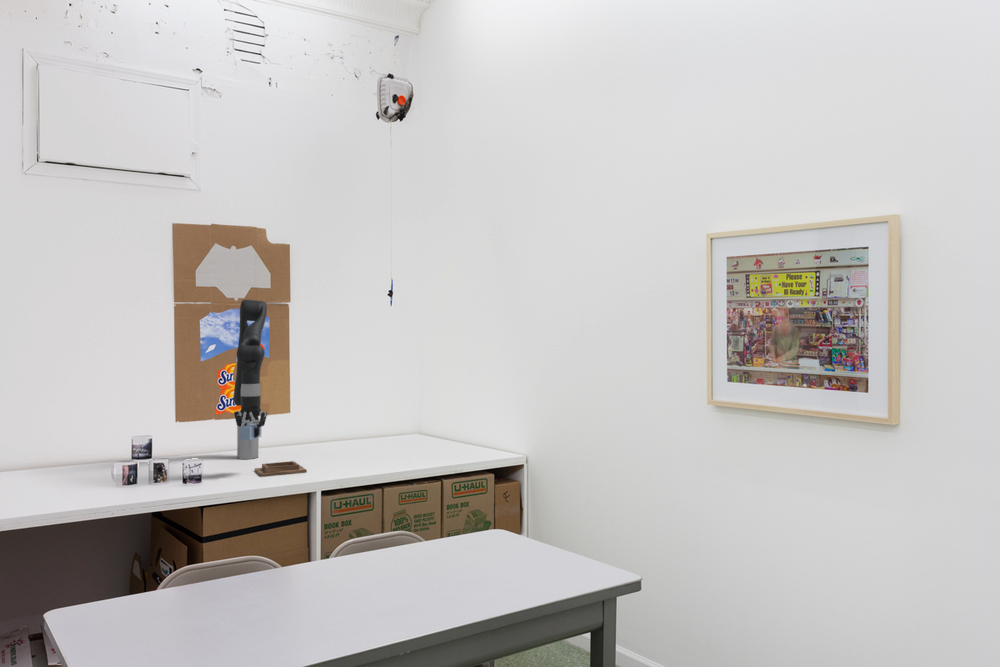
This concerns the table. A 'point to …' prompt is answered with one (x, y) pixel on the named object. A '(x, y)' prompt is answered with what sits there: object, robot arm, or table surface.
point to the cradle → (280, 469)
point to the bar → (247, 432)
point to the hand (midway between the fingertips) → (250, 436)
